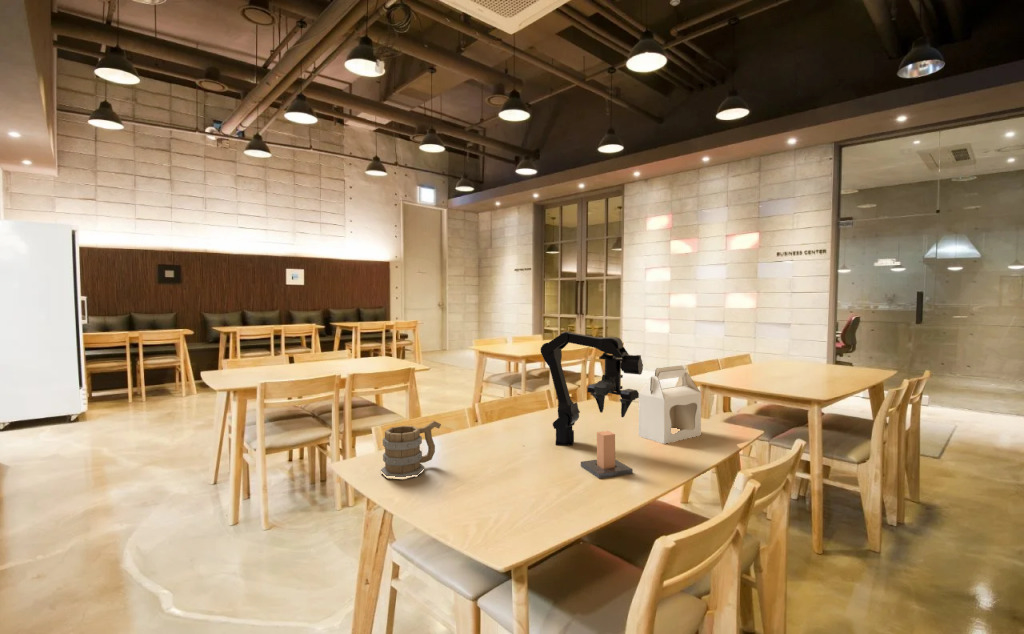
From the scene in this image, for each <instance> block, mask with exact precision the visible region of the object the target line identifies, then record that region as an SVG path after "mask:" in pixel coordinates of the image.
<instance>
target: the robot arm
mask: <svg viewBox="0 0 1024 634" xmlns="http://www.w3.org/2000/svg"><path fill="white" fill-rule="evenodd" d="M568 344H573V345H579V346H583V347H584V346H585V347H589V348H595V349H597V350H599V351H600V352H603V353H602V354H601V356H599V358H598V359H599V360H604V374H602V376H601V380H599V381H597V382H596V383H595V382H594V383H590V384H589V385H587V388H586V389H587V391H586V392H587V393H589V395H590V396H592V397H593V398H594V399H595V401H596V403H597V407H598V410H599V413H601V414H602V413H604V409H605V408H604V407H605V398H606V396H607V395H609V394H611V395H617V396H620V399H619V401H620V403H621V404H620V405H621V409H620V410H621V411H620V414H621V415H620V417H621V418H624V417H625V415H626V413H627V411H628V409H629V407H630V406H631V404H632V402H633V401H635V400H636V399H639V393H640V392H638V389H632V388H626V389H623V385H621V381H622V380H621V379H622V378H623V377H624V375H623V374H621V372H623V373H624V374H630V375H639V376H640V375H642V373H643V369H644V363H643V360H642V355H640V354H635V355H634V354H629V353H628V351H627V350H626V348H625V346H624V343H623V341H622V339H621V338H619V337H618V336H605V337H599V336H594V335H592V336H591V335H587V334H583V333H581V334H580V333H575V332H571V331H563V332H561V333H560V334H559V335H558V336H557V337H555V338H553V339H551V340H550V341H549V342H545V343H543V344H542V345H541V347H540V354H541V356H542V358H543V360H544V362H545V364H546V365H547V366H548V369H549V371H550V375H551V379H552V383H553V386H554V389H555V394H556V397H557V401H558V405H557V419H555V420H554V421H553V423H552V427H553V429H554V430H555V443H554V444H555V446H573V445H574V442H575V430H573V427H574V426H575V423H576V422H577V421H579V420H578V419H579V418H580V414H581V411H580V409H579V404H578V402H573V400H572V398H571V397H570V392H569V388H568V386H567V385H568V384H567V382H566V381H567V380H566V378H565V377H566V376H565V373H564V370H563V367H562V349H564V348H566V346H568Z"/></svg>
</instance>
